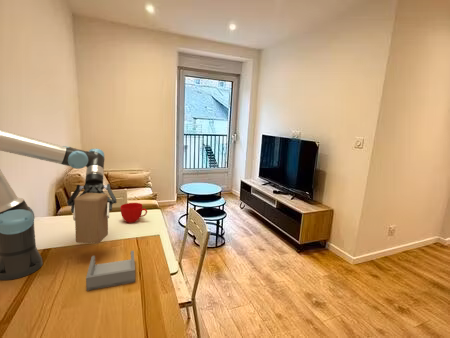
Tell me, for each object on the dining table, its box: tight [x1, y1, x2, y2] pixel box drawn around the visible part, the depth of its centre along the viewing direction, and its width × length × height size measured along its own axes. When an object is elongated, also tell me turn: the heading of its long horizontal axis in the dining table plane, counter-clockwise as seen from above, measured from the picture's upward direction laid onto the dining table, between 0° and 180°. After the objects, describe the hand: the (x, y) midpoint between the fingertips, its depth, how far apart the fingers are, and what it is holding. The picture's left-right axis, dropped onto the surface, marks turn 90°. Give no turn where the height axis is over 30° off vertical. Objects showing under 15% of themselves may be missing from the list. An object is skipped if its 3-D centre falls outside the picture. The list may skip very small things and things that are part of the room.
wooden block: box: [74, 192, 109, 244], centre depth 110 cm, size 10×10×20 cm
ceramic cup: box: [119, 202, 148, 224], centre depth 157 cm, size 13×17×10 cm
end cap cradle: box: [85, 250, 136, 292], centre depth 99 cm, size 16×16×5 cm
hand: (91, 218), depth 108 cm, fingers closed on wooden block, 12 cm apart
